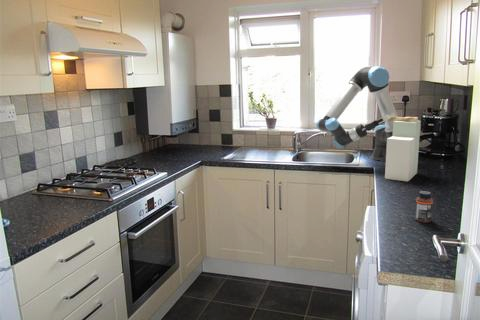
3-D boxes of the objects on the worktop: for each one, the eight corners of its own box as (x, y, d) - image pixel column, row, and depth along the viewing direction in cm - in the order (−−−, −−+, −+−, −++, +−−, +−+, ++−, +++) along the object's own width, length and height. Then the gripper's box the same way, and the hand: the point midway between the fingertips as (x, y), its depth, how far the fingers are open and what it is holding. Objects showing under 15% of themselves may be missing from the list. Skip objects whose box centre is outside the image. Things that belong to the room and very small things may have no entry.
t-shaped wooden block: (379, 120, 233) (380, 116, 232) (382, 119, 237) (383, 115, 237) (415, 122, 222) (415, 118, 222) (417, 121, 227) (418, 117, 226)
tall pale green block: (384, 178, 223) (387, 123, 217) (395, 170, 241) (398, 119, 235) (407, 181, 217) (411, 124, 211) (416, 173, 234) (420, 120, 228)
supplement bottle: (418, 216, 162) (420, 189, 160) (434, 220, 158) (436, 192, 156) (411, 220, 158) (414, 192, 156) (427, 224, 154) (429, 195, 152)
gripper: (367, 135, 253) (400, 119, 241) (354, 140, 234) (389, 123, 221) (361, 124, 254) (394, 108, 242) (348, 129, 234) (382, 111, 222)
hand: (391, 115), depth 231 cm, fingers open, 12 cm apart
